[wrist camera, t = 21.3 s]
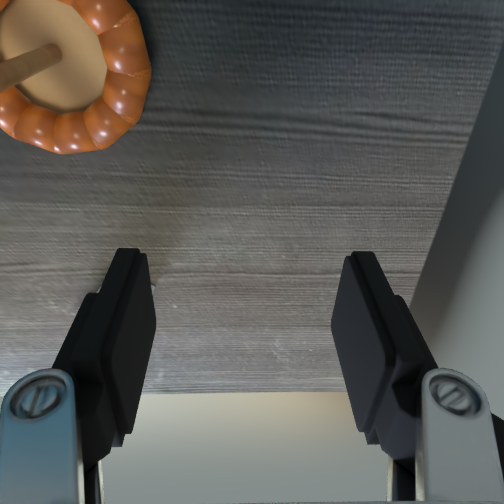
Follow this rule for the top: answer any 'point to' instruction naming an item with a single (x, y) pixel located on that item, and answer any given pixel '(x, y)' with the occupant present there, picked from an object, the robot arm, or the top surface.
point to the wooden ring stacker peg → (50, 55)
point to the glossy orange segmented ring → (113, 96)
